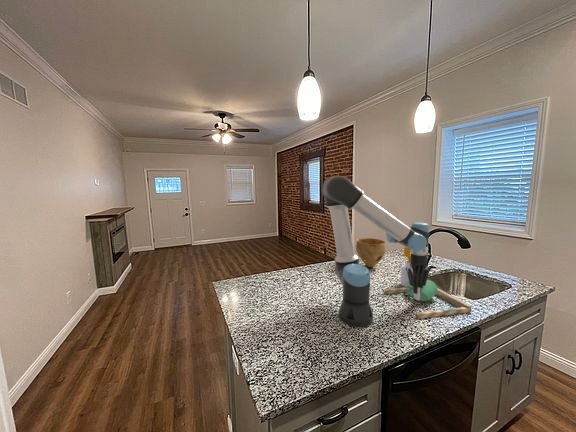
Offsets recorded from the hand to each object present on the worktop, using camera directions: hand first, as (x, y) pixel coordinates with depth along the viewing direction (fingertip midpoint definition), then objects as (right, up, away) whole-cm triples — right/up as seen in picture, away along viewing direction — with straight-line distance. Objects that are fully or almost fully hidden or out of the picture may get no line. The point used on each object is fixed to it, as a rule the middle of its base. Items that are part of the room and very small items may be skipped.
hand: (416, 299), depth 125 cm
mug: (+1, +1, +1) cm, 1 cm away
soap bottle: (+7, +1, +22) cm, 23 cm away
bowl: (-5, +5, +55) cm, 56 cm away
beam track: (+5, -2, +2) cm, 5 cm away
